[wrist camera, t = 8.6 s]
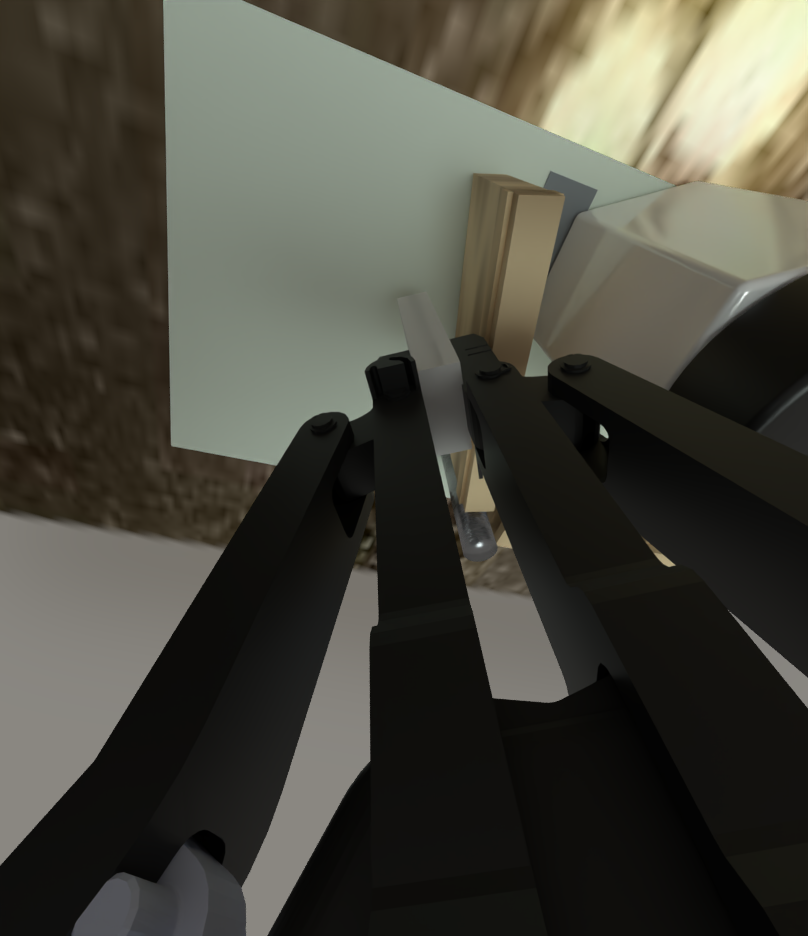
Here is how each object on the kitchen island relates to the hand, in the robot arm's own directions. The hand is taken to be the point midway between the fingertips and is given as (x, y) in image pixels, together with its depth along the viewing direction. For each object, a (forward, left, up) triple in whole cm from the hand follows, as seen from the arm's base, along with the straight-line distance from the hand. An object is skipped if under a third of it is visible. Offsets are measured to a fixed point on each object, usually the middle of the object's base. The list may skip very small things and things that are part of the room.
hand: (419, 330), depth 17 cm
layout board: (+5, -1, -3) cm, 6 cm away
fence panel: (+2, 0, -2) cm, 3 cm away
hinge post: (+4, -6, -3) cm, 8 cm away
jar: (+9, +3, -2) cm, 10 cm away
